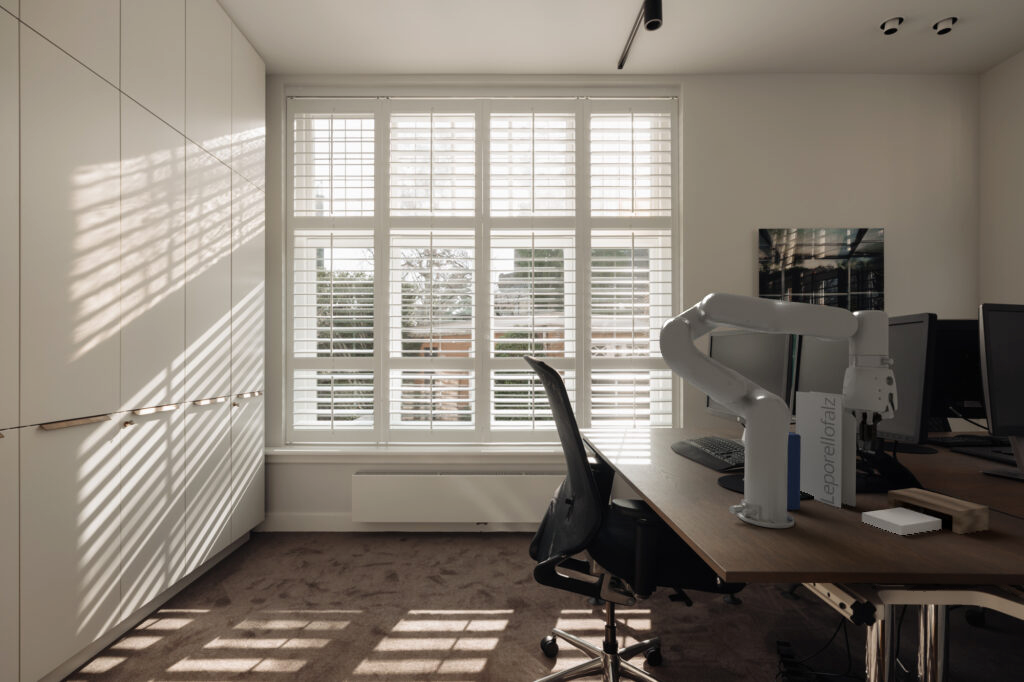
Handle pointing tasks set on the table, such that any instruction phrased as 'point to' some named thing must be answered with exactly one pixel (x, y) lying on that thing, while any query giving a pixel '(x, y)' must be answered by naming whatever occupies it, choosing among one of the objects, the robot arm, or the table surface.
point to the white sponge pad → (901, 521)
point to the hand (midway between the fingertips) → (867, 440)
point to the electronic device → (793, 471)
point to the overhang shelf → (942, 508)
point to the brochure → (826, 448)
